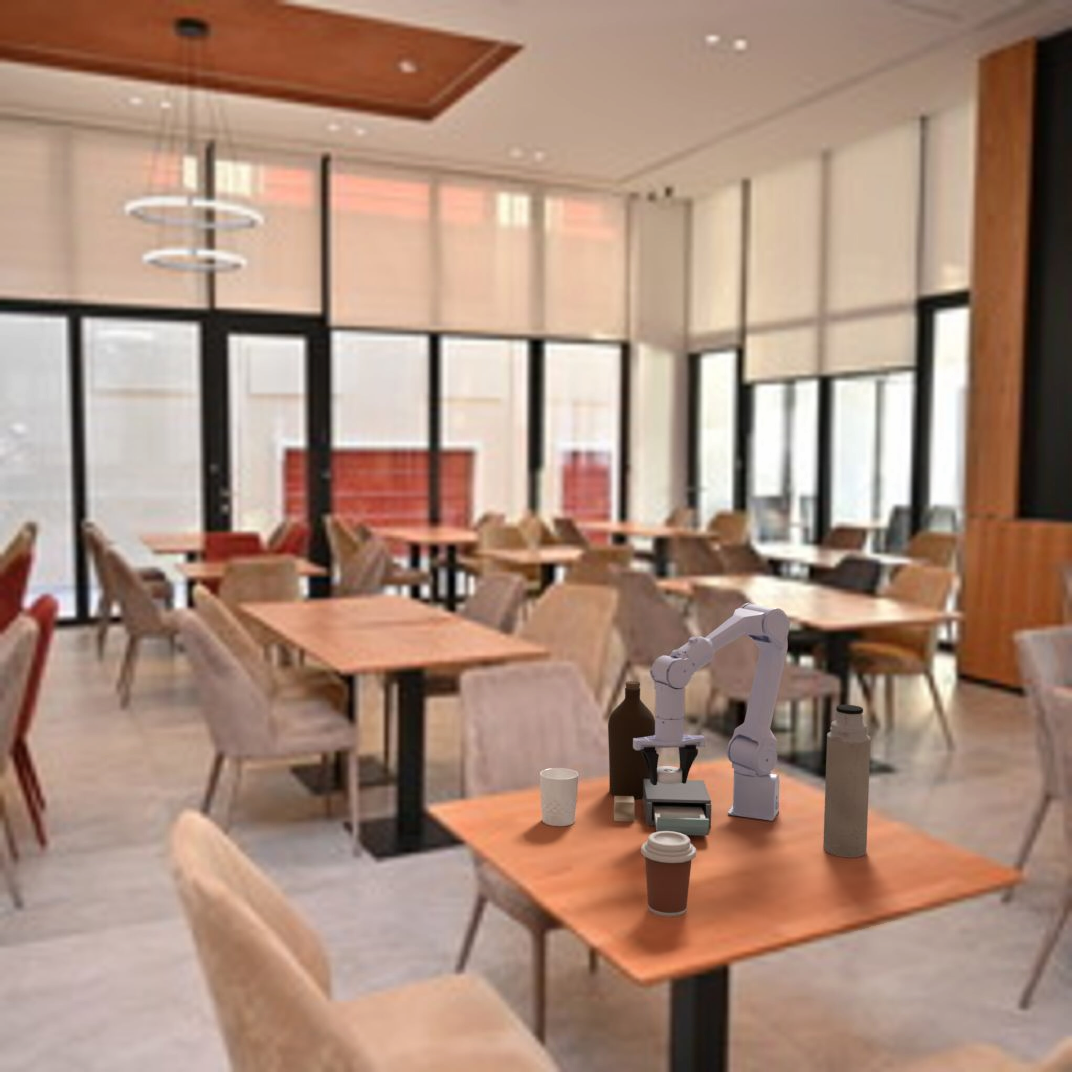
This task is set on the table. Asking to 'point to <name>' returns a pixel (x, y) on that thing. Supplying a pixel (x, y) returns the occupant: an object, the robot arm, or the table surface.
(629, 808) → the birch block
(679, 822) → the tray
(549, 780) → the white cup
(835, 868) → the table surface
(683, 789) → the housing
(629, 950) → the table surface
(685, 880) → the coffee cup
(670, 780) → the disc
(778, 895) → the table surface
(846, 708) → the thermos bottle
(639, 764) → the olive oil
